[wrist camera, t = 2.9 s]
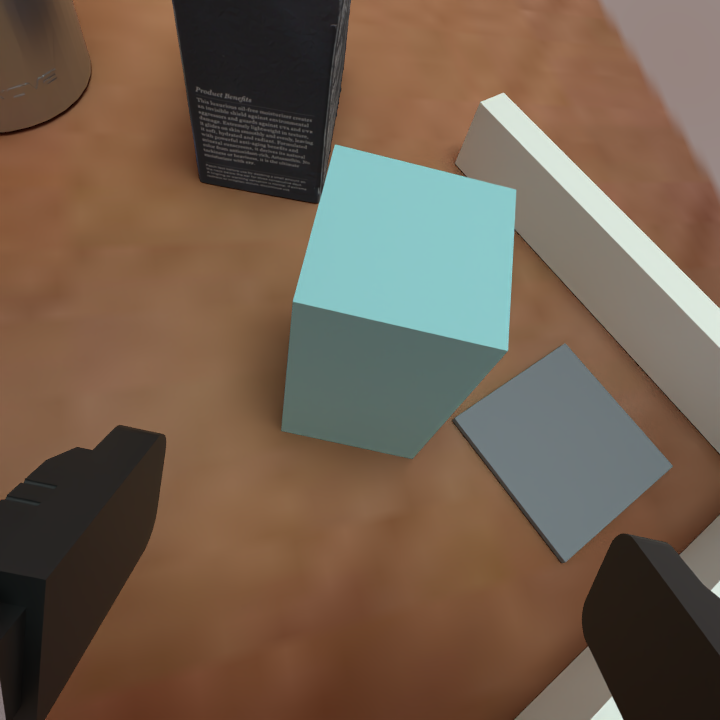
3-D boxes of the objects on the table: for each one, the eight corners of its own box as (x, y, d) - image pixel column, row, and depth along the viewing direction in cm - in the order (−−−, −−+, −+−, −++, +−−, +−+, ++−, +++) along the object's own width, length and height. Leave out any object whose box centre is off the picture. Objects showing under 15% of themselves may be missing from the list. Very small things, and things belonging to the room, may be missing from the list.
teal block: (281, 430, 22) (293, 301, 14) (309, 316, 25) (334, 144, 16) (412, 459, 23) (507, 351, 14) (427, 343, 25) (516, 189, 16)
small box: (233, 46, 32) (220, -195, 23) (344, 69, 33) (377, -156, 23) (191, 183, 27) (153, -49, 18) (322, 207, 28) (353, -5, 18)
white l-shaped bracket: (117, 315, 23) (91, 259, 20) (476, 154, 31) (503, 92, 28) (448, 867, 17) (497, 929, 14) (795, 495, 25) (884, 473, 21)
